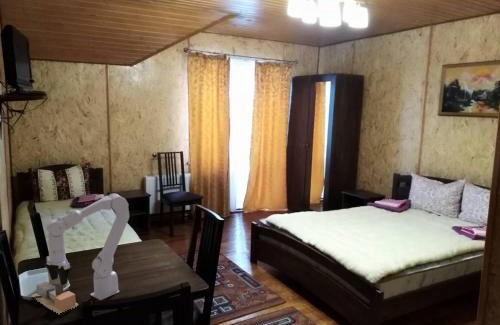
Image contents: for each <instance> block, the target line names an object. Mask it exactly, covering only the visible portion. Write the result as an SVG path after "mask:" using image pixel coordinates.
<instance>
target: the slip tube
mask: <svg viewBox="0 0 500 325" xmlns="http://www.w3.org/2000/svg"><path fill="white" fill-rule="evenodd" d="M54 286H55V290H54V289H52V290H49V291H47V297H49V298H51V299H52V300H54V296H57V295H59V294H62V293H64V292H65V291H64V285H61V283H58V284H54Z"/></svg>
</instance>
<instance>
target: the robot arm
mask: <svg viewBox="0 0 500 325" xmlns="http://www.w3.org/2000/svg"><path fill="white" fill-rule="evenodd" d="M101 210H105V211H106V210H107V211H113V214H114V215H115V218H114V219H115V220H114V221H113V223H112V226H111V228H110V231H109V232H108V236H107V237H106V240H105V242H104V244H103V247H102V249H101V251H100V252H99V253H98V254H97V256H96V257H95V258H94V259H93V260H92V262H91V267H92V269H93V270H94V272H93V274H92V276H93V289H94V290H93V292H91V293H90V296H92V297H93V298H95V299H97V300H98V301H99V300H100V301H101V300H104V299H107V298H108V297H111V296H113V295H116V294H118V293H120V290H119V278H118V275H117V272H115V270H113V266H114V265H113V264H114V255H115V253H116V250H117V248H118V246H119V243H120V242H121V239H122V237H123V233H124V231H125V228H126V226H127V224H128V223H129V222H128V221H129V219H130V210H129V203H128V200H127V199H126V198H125V197H123V196H121V195H119V194H118V193H110V194H108V195H106V196H103V197H102V198H101V199H98V200H96V201H95V202H93V203H92V204H89V205H87V206H86V207H84V208H83V209H81V210H77V209H73V210H72V209H71V210H69V211H68V213H66V214H64V215H62V216H57V217H56V219H55V218H54V219H51V220H49V221H48V223H47V224H46V227H45V229H46V231H47V232H48V233H47V234H48V235H47V236H48V240H47V241H48V256H46V263H44V267H45V268H46V269H47V272H48V271H49V274H50V277H51V279H52V280H55V279H57V278H58V275H59V278H60V283H61V285H63V286H65V285H67V284H68V281H69V275H70V273H71V271H72V269H73V267H72V266H71V265H70V264H71V263H70V262H69V261H68V259H67V257H66V245H65V244H66V243H65V236H64V233H65V232H66V231H68V230H69V229H71V228H72V227H75V226H77V225H79V224H81V223H82V222H83V221H84V218H86V217H89V216H91V215H93V214H95V213H97V212H99V211H101ZM47 261H48V262H47ZM59 266H61V268H59ZM58 268H59V269H58Z"/></svg>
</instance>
